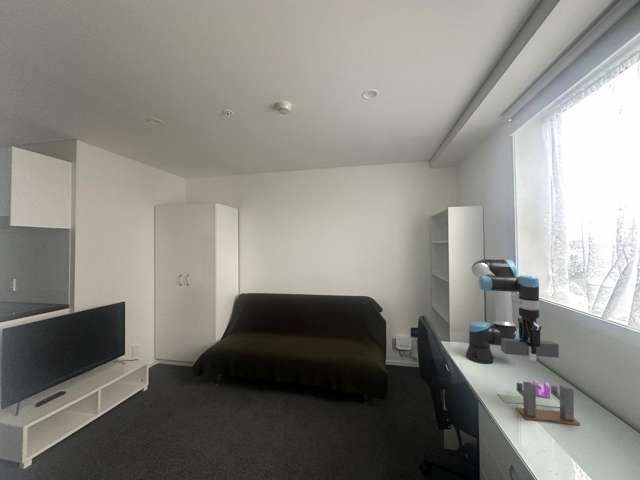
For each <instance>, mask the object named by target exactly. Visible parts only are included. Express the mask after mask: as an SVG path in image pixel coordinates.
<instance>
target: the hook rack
mask: <svg viewBox="0 0 640 480" xmlns="http://www.w3.org/2000/svg"><path fill="white" fill-rule="evenodd" d="M558 389H559V390H558ZM516 391H517V392H518V393H519V394H520V396H523V404H522V405H523V407H520V406H519V407H517V406H515V410H516V412H517V413H518V414H519V415H520V416H521V418H523V419H524V420H525V421H533V422H542V423H543V422H544V423H553V424H562V425H570V426H573V425H574V426H581V423H580V421H578V420H577V419H576V418H574V417H575V416H574V415H575V410H574V409H575V407H574V406H575V405H574V403H575V402H574V400H575V399H574V389H573V388H572V387H571V386H569V385H568V384H567V385H566V384H565V385H564V384H559V387H558V386H557V385H550V395H552V396H554V397H555V398H557V399H558V400H559V404H560V408H559V410H558V411H557V410H549V409H548V410H547V409H541V408H540V409H538V408H537V407H536V397H537V396H536V386H535V385H534V384H532V382H530V381H523V382H516ZM558 391H559V392H558Z"/></svg>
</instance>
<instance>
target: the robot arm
mask: <svg viewBox="0 0 640 480" xmlns="http://www.w3.org/2000/svg"><path fill="white" fill-rule="evenodd" d="M471 272H472V274H473V275H474V276H476V277H477V278H478V287H479V289H480V290H482V291H489V292H490V291H492V292H493V291H494V301H495V302H494V303H495V321H493V322H492V323H493V325H491V323H489V322H487V321H481V320H480V321H479V320H477V321H476V320H475V321H472V322H470V323H469V325H468V345H467V349H466V352H465V357H466V359H468V360H470V361H473V362H474V363H478V364H484V365H488V364H489V365H490V364H493V363H494V355H493V353H492V349H491V345H494V346H501V338H505V339H522V340H529V342H530V345H528V346H529V356H527V355H522V356H523V357H528V361H532V362H534V361H535V362H536V361H537V356H536V347H540V341H541V331H542V326H541V325H538V324H537V323H538V322H537V319H539V318H540V310H539V309H540V296H539V295H540V280H539V277H538V276H535V275H528V274H527V275H525V274H524V275H523V274H521V275H519V276H518V275H517V274H518V271H517V267H516V263H515V262H514V261H513V260H511V259H490V258H489V259H487V258H485V259H480V260H476V262H474V263H473V264H472V266H471ZM512 293H518V315H519V317H517V322H518V327H517V325H516V323H514V322H513V305H512V304H513V301H512ZM520 317H521V318H520Z"/></svg>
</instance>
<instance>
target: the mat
mask: <svg viewBox="0 0 640 480" xmlns="http://www.w3.org/2000/svg"><path fill="white" fill-rule="evenodd" d="M497 396H498V397H500V399H501V398H502V399H503V400H504V401H503V400H502V399H501V400H502V401H503V402H504V403H505V402H506V404H515V405H517V404H518V405H523V396H522V395H513V394H502V393H497ZM536 406H538V407H547V408H557V409H560V402H558V401H556V400H555V399H554V398H550V399H548V398H541V397H537V396H536Z"/></svg>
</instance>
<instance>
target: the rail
mask: <svg viewBox="0 0 640 480" xmlns="http://www.w3.org/2000/svg"><path fill="white" fill-rule="evenodd" d="M528 345H530V342H529V339H528V340H522V339H505V338H501V347H500V348H501V349H500V351H501V352H502V353H504V354H505V355H515V356H523V355H527V356H526V357H529V346H528ZM559 346H560V345H559V344H558V343H557V342H554V341H550V340H540V347H536V357H541V358H542V357H543V358H544V357H545V358H560V357H559V356H560V355H559V354H560V353H559V351H560V350H559Z"/></svg>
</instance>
